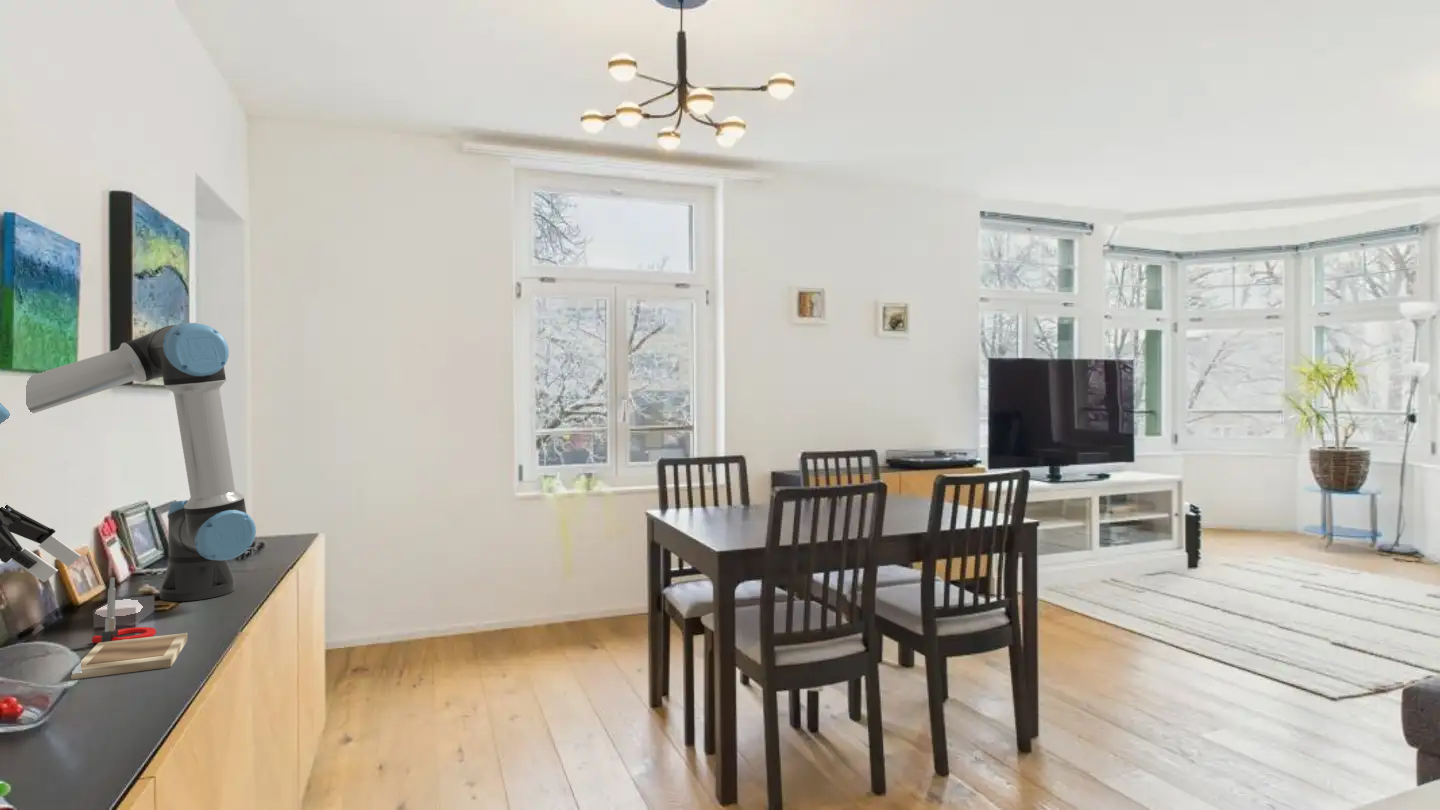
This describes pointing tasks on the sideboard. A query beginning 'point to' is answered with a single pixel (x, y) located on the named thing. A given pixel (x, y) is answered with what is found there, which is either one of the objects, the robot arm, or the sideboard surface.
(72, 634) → the sideboard surface
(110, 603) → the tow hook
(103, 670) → the wooden tray
